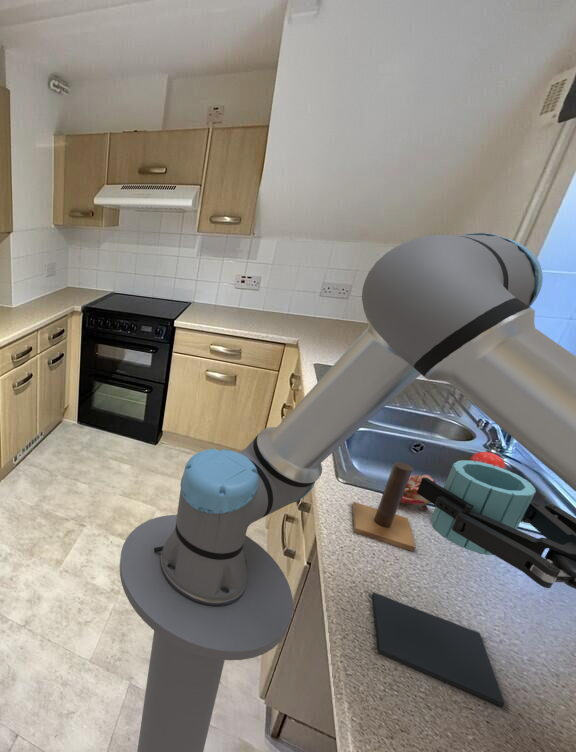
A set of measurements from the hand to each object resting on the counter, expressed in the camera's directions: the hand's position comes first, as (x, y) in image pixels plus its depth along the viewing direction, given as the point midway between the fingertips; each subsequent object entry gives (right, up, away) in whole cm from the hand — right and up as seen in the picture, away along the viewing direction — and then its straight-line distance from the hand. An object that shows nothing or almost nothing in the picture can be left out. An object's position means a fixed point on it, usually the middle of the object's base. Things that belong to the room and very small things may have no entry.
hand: (446, 483), depth 63 cm
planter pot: (+1, -7, -2) cm, 7 cm away
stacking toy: (+27, -17, +27) cm, 42 cm away
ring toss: (+10, -17, +26) cm, 33 cm away
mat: (-1, -26, +2) cm, 26 cm away
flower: (+22, -15, +34) cm, 43 cm away
